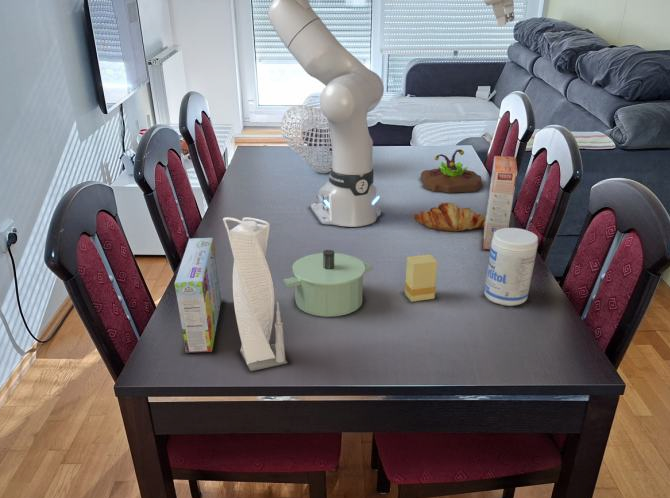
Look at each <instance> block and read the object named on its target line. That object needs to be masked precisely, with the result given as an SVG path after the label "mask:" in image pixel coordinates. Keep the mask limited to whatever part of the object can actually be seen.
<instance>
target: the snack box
mask: <svg viewBox="0 0 670 498" xmlns="http://www.w3.org/2000/svg"><path fill="white" fill-rule="evenodd" d="M216 258H217V257H216V251H215V242H214V237H193V238H188V241H187V244H186V247H185V251H184V253H183V257H182V259H181V263H180V266H179V268H178V271H177V274H176V278H175V281H174V283H173V284H174V289H175V294H176V301H177V306H178V307H177V308H178V312H179V319H180V323H181V331H182V336H183V342H184V348H185V349H184V350H185V353H186V354H190V353H211V352H213V348H214V342H215V336H216V331H217V326H218V321H219V315H220V310H221V305H222V296H221V295H222V294H221V288H220V287H221V286H220V281H219V280H220V279H219V275H218V266H217V259H216Z"/></svg>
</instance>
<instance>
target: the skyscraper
mask: <svg viewBox="0 0 670 498" xmlns="http://www.w3.org/2000/svg"><path fill="white" fill-rule="evenodd" d="M222 221H223V224H224V226H225V229H226V232H227V237H228V240H229V245H230V249H231V253H232V257H233V265H232V297H233V307H234V313H235V319H236V324H237V329H238V334H239V337H240V342H241V345H240V350H239V352H240V355H241V357H242V359H243V361H244V362H245V363H246V366H247V367H248V369H249V371H250V372H254V371H258V370H262V369H267V368H272V367H277V366H281V365H282V366H283V365H286V364H288V360H287V359H286V354H285V353H286V352H285V341H284V330H283V328H284V327H283V326H284V322H283V321H282V319H281V309H280V304H279V302H280V301H279V300H277V301H276V310H275V289H274V288H275V287H274V282H273V277H272V274H271V270H270V267H269V265H268V261H267V259H266V253H267V247H268V239H269V234H270V227H271V225H270V223H269V221H266V220H264V219H260V218H257V217H256V218H255V217H248V216H247V217H242V219H241V220H240V219H237V218H235V217H229V216H227V217H223V218H222ZM227 221H231V222H235V223H238V224H237V225H236V226H234V227H233V228H231V229H229V225H228V223H227ZM257 222H258V223H257ZM275 312H276V318H275V319H276V321H274V314H275ZM273 323H274V329H275V343H271V344H270V340H271V335H272V328H273Z"/></svg>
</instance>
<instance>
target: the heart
mask: <svg viewBox="0 0 670 498" xmlns="http://www.w3.org/2000/svg"><path fill="white" fill-rule="evenodd" d="M306 113H307V114H306ZM302 116H303V118H302ZM298 121H299V122H298ZM302 121H303V122H302ZM280 131H281V135H282V137H283V140H284V142H285V143H286V144H287V146H288V147H289V148H290V149H291V150H292V151H293V152H294V153H295V154H296V155H298V156H299V157H300V158H301V159H302V160H303V161H304V162H306V164H308V165H309V166H310V167H311V168H312V169H314V170H315V171H316V172H318V173H320V174H327V173H330V172H329V171H331V169H329V168H332V154H330V153H331V152H332V151H330V150H329V149H330V148H331V149H332V140H331V134H330V129H329V125H328V121H327V118H326V117H325V115H324V114H323V112H322V110H321V109H319V108H316V107H313V106H310V105H307V104H306V105H305V104H297V105H294V106H291V107H290V108H289V109H287V110H286V111H285V113H284V114H283V116H282V118H281V122H280ZM316 131H317V132H316ZM316 135H317V136H316ZM294 136H295V137H294ZM320 136H321V137H320ZM302 137H303V138H304V139H303V138H302ZM306 138H308V139H307V140H306ZM311 139H312V141H310V140H311ZM315 140H316V141H315ZM320 140H321V141H320ZM301 142H302V143H301ZM305 143H307V144H305ZM310 144H311V146H310ZM315 144H316V146H315ZM326 144H327V145H326ZM328 144H329V147H328ZM320 145H321V146H320ZM325 145H326V146H325ZM315 149H316V150H315ZM320 149H321V150H320ZM325 149H326V150H325ZM325 153H326V154H325Z"/></svg>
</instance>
